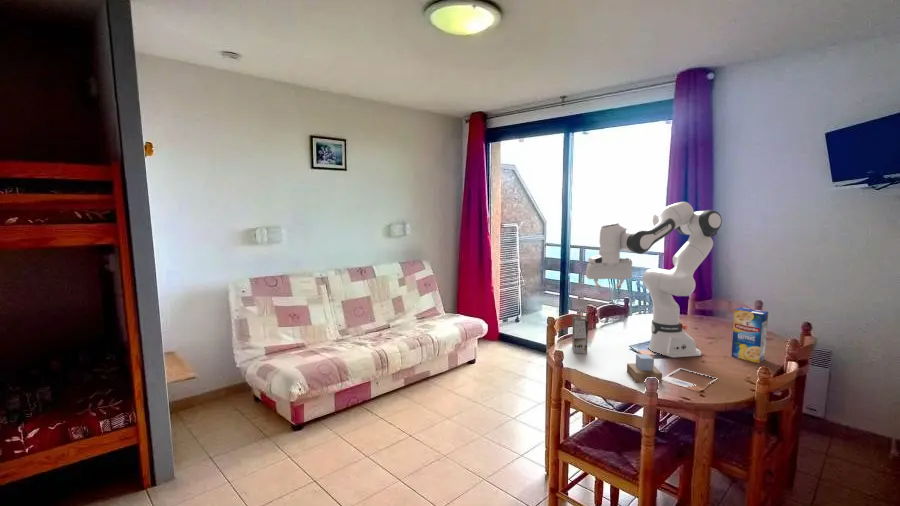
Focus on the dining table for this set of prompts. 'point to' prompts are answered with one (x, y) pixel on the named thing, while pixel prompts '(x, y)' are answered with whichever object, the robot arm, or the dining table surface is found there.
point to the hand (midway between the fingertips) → (608, 288)
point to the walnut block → (642, 373)
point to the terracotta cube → (646, 353)
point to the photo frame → (680, 382)
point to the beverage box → (749, 334)
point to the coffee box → (580, 334)
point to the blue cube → (644, 362)
